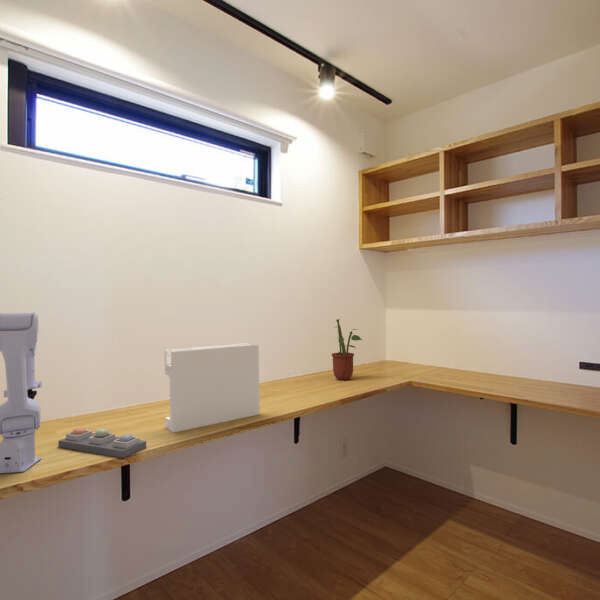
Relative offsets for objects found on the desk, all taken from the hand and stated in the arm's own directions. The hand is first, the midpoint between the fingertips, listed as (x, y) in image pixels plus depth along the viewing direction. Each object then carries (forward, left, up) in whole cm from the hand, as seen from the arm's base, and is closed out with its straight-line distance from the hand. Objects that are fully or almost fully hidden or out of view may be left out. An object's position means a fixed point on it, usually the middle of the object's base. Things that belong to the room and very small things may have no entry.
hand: (23, 415), depth 124 cm
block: (+20, -57, -11) cm, 61 cm away
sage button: (-3, -24, -7) cm, 25 cm away
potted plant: (+92, -127, -11) cm, 157 cm away
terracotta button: (+2, -15, -7) cm, 17 cm away
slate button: (-8, -33, -7) cm, 35 cm away
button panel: (-3, -24, -10) cm, 26 cm away
